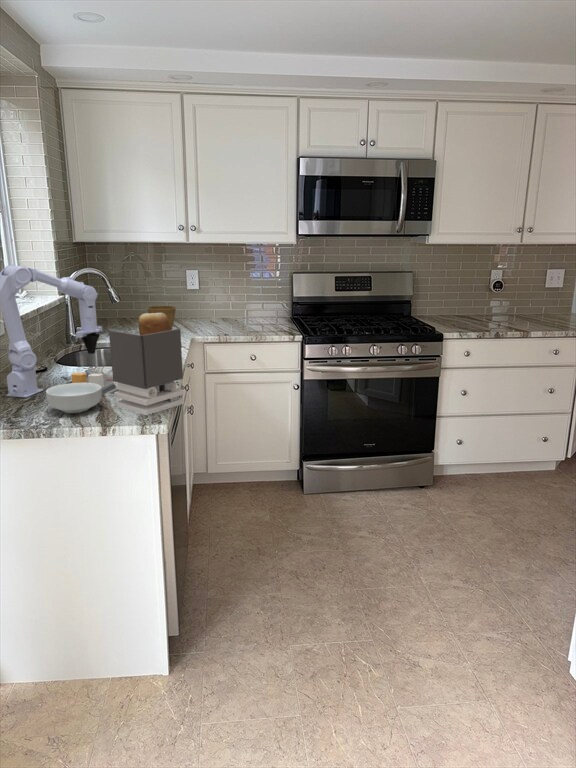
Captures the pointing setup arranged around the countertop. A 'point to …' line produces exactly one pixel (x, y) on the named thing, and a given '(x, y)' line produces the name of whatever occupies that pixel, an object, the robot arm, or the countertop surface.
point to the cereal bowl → (74, 396)
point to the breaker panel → (101, 381)
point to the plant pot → (164, 312)
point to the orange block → (79, 378)
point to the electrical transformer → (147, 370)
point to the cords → (110, 391)
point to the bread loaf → (153, 323)
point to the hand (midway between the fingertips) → (91, 353)
